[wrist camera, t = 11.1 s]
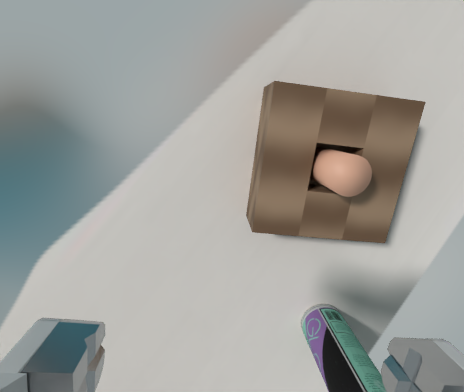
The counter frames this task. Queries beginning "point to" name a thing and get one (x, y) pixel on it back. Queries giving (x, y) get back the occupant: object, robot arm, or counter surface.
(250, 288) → the counter surface
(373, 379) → the spray can
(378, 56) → the counter surface
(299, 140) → the bore block
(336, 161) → the pin
